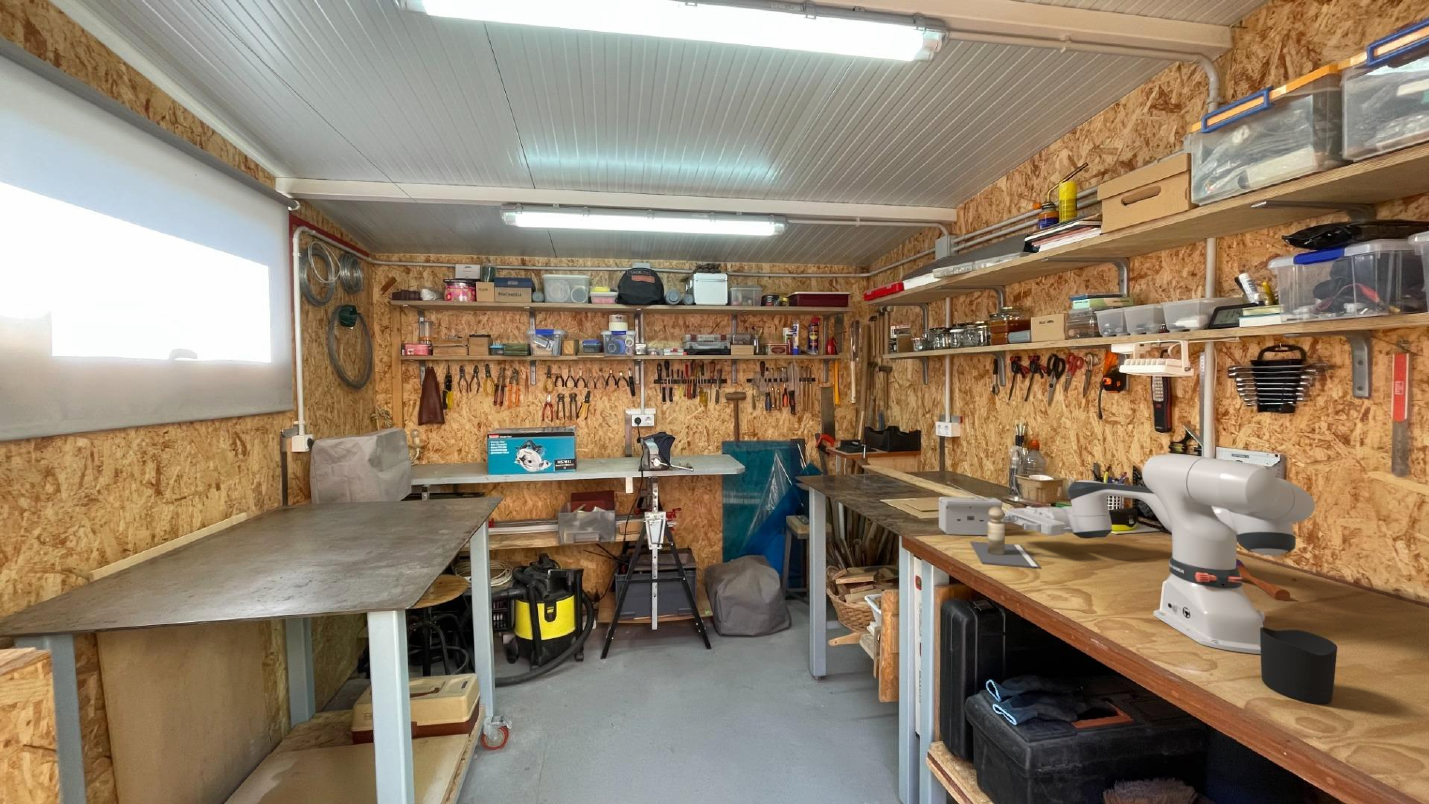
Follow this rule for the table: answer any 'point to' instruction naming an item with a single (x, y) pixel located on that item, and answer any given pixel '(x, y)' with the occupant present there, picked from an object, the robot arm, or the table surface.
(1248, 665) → the table surface
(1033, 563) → the mat
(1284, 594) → the kendama
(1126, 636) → the table surface
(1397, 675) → the table surface
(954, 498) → the stereo radio cassette player
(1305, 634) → the pen holder
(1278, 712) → the table surface
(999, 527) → the skittle
